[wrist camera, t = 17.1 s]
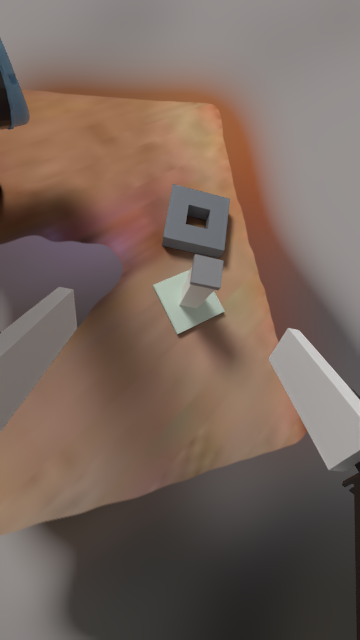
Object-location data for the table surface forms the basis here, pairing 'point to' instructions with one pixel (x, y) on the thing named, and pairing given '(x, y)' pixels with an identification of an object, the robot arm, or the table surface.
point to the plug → (201, 281)
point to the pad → (183, 315)
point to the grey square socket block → (191, 236)
